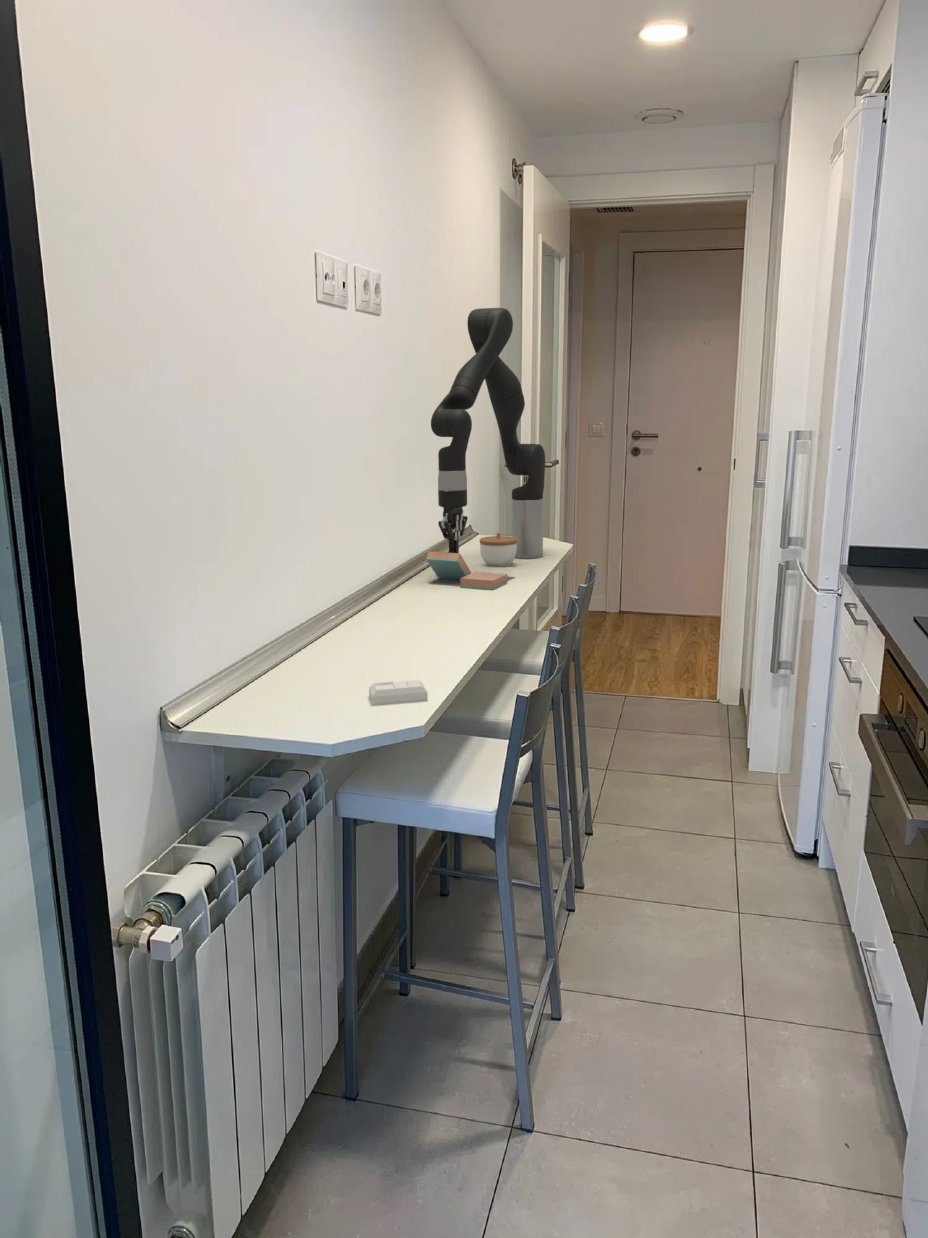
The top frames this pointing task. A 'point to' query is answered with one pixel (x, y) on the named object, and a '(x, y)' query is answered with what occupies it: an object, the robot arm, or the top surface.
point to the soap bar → (397, 692)
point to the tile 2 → (483, 580)
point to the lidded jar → (498, 550)
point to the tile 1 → (448, 565)
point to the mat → (454, 581)
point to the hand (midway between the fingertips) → (453, 553)
